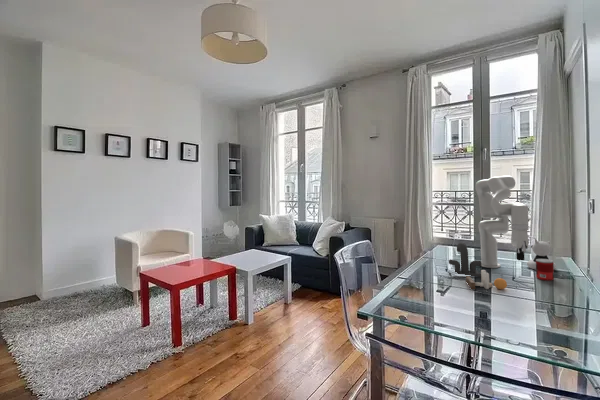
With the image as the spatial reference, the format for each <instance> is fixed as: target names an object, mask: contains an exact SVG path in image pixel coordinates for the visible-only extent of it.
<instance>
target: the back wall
mask: <svg viewBox="0 0 600 400" xmlns="http://www.w3.org/2000/svg"><path fill="white" fill-rule="evenodd" d="M472 278H473V277H470V276H466V277H465V283H466V282H467V283H468V285H469V286H470V287H471V289H476V287H475V280H474V279H472ZM467 283H466V284H467ZM468 285H467V286H468ZM469 286H468V287H469ZM470 287H469V288H470ZM471 289H470V290H471Z"/></svg>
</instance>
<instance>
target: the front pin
mask: <svg viewBox="0 0 600 400" xmlns="http://www.w3.org/2000/svg"><path fill="white" fill-rule="evenodd" d="M474 282H475V281H474ZM493 285H494V283H493V282H489V288H493V287H494V286H493ZM475 286H480V288H484V283H482V282H478V281H477V282H475Z"/></svg>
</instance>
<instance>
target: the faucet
mask: <svg viewBox="0 0 600 400" xmlns="http://www.w3.org/2000/svg"><path fill="white" fill-rule="evenodd" d="M456 252H457V253H459V254H460V262H459V261H458V260H456V259H449V260H448V264H449V265H451V266H454V270H455V272H457V273H458V274H465V275H471V276H478V277H477V278H481V272H479V271H478V270H477V269H476V267H482V266H481V265H482V263H481V260H472V261H470V263H469V250H468V246H467V245H466V243H464V242H463V241H462V242H459V243H457V244H456Z"/></svg>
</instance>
